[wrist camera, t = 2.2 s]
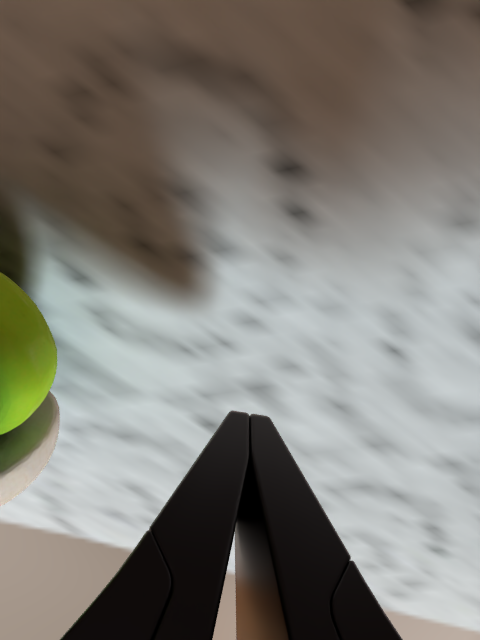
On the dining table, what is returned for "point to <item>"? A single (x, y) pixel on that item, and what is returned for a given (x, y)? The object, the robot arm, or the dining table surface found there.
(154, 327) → the dining table surface
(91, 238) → the dining table surface
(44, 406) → the rainbow petal ball
